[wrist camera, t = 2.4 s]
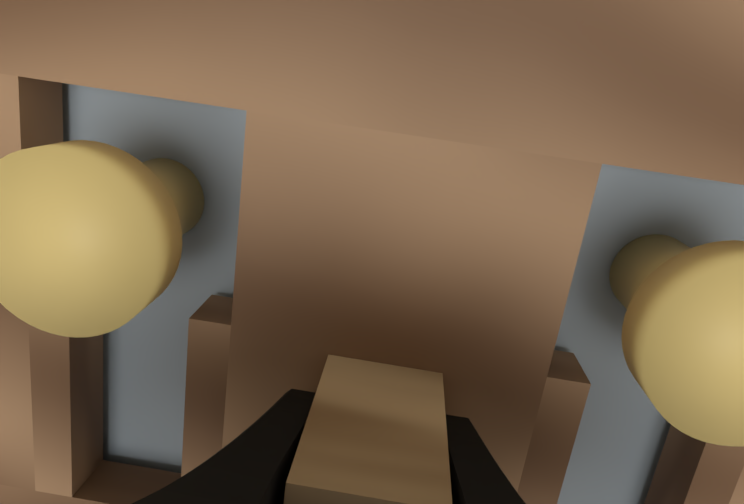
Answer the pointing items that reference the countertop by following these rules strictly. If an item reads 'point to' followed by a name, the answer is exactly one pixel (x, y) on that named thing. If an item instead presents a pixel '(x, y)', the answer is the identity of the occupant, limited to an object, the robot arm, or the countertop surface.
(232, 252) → the boss board
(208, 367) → the panel
